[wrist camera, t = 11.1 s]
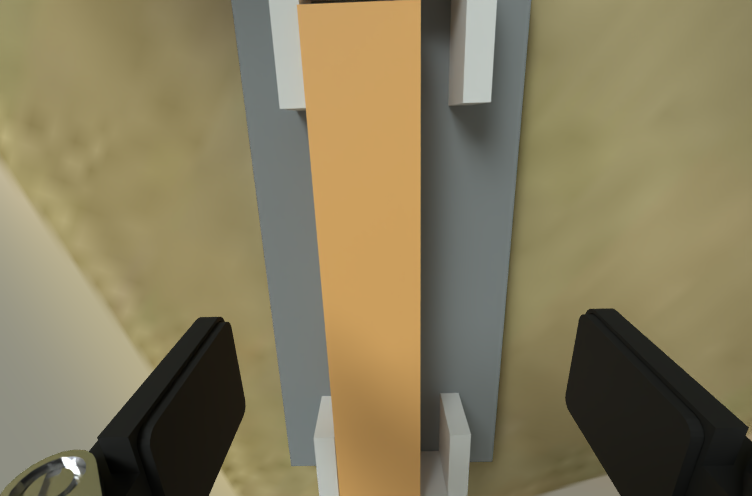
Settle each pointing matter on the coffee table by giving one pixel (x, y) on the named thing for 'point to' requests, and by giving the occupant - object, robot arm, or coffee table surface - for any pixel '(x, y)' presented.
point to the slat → (368, 231)
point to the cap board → (438, 224)
